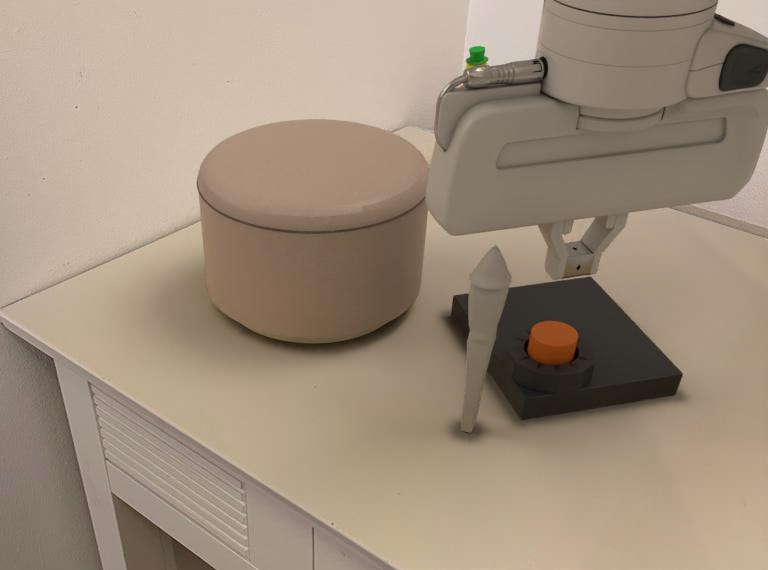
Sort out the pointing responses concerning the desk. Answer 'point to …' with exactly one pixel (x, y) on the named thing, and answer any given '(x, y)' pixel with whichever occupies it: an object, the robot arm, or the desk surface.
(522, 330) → the orange button pad
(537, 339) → the button
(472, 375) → the pen
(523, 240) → the desk surface
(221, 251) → the container
